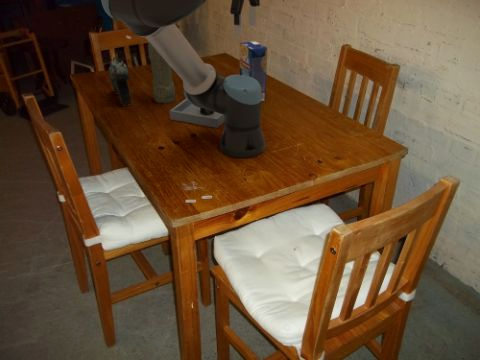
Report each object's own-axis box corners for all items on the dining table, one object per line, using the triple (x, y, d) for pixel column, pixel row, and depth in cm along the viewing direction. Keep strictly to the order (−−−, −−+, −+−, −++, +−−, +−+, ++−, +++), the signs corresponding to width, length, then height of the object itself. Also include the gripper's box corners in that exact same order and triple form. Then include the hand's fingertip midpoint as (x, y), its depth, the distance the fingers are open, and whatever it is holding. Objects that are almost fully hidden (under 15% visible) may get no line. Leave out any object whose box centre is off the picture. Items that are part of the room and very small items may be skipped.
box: (217, 128, 153) (217, 119, 151) (170, 119, 159) (169, 110, 157) (238, 108, 168) (238, 99, 166) (194, 100, 174) (194, 92, 172)
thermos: (162, 106, 169) (153, 16, 150) (148, 98, 177) (138, 11, 158) (181, 101, 174) (174, 13, 155) (167, 93, 181) (158, 8, 162)
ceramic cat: (134, 106, 169) (127, 57, 158) (118, 109, 167) (110, 59, 156) (124, 90, 184) (117, 44, 174) (109, 92, 182) (101, 46, 171)
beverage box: (253, 91, 183) (254, 41, 171) (265, 100, 175) (267, 47, 163) (239, 94, 181) (239, 42, 169) (251, 103, 172) (251, 49, 160)
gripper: (242, -35, 120) (241, 40, 131) (270, -43, 139) (267, 23, 150) (218, -37, 122) (220, 37, 134) (249, -44, 141) (248, 21, 153)
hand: (245, 30), depth 142 cm, fingers open, 13 cm apart
